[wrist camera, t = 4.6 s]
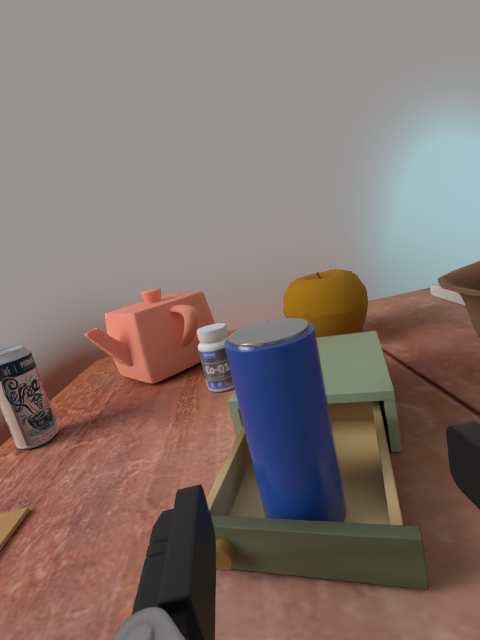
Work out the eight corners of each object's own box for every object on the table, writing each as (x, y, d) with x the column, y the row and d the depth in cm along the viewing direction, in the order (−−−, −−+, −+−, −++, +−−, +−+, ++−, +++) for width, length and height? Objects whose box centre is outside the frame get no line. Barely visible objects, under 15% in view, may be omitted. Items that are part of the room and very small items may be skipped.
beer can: (37, 452, 40) (-1, 356, 37) (8, 452, 41) (-30, 360, 39) (68, 429, 44) (36, 341, 42) (41, 429, 46) (9, 346, 43)
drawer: (433, 607, 16) (426, 555, 15) (189, 578, 20) (176, 536, 19) (389, 421, 30) (385, 390, 30) (254, 426, 34) (248, 399, 34)
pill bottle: (208, 396, 45) (192, 335, 43) (207, 382, 49) (193, 327, 47) (243, 387, 45) (229, 326, 43) (239, 374, 50) (226, 319, 48)
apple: (276, 348, 57) (262, 282, 55) (332, 326, 63) (322, 264, 61) (330, 364, 46) (316, 281, 44) (393, 335, 52) (384, 260, 49)
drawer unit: (402, 452, 27) (394, 390, 25) (240, 454, 31) (227, 401, 30) (382, 372, 40) (376, 330, 39) (272, 381, 45) (264, 343, 44)
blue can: (347, 548, 19) (309, 339, 16) (257, 541, 20) (209, 350, 18) (346, 481, 24) (317, 311, 21) (273, 480, 25) (237, 323, 23)
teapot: (172, 346, 74) (155, 283, 71) (243, 355, 58) (224, 274, 55) (80, 386, 61) (54, 311, 58) (138, 411, 45) (107, 309, 42)
